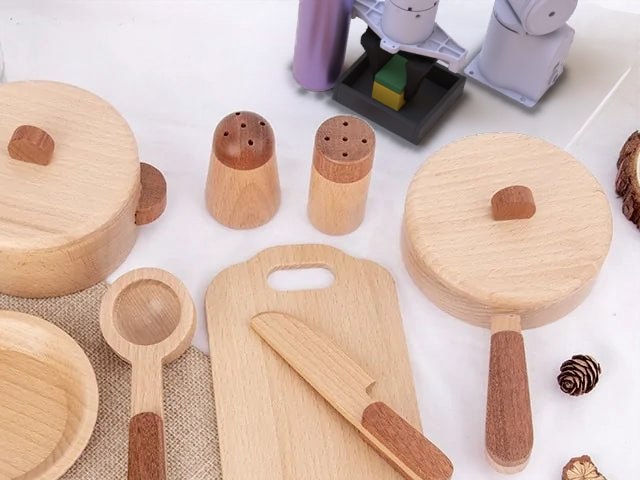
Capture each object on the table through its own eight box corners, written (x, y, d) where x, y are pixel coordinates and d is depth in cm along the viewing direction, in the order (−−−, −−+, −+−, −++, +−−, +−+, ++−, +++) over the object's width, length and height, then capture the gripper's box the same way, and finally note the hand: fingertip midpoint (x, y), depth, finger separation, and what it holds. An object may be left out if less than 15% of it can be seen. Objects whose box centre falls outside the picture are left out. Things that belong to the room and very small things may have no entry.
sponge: (417, 89, 127) (422, 67, 124) (397, 111, 126) (401, 89, 123) (391, 75, 128) (395, 53, 125) (371, 97, 127) (375, 75, 124)
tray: (461, 96, 128) (466, 77, 125) (415, 148, 124) (419, 129, 121) (379, 52, 131) (382, 33, 128) (331, 101, 127) (333, 82, 124)
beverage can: (336, 99, 127) (352, -4, 114) (287, 89, 128) (297, -14, 115) (345, 63, 130) (362, -41, 117) (297, 54, 131) (308, -51, 117)
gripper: (335, -16, 115) (324, 79, 127) (452, 44, 111) (429, 137, 123) (372, -51, 118) (358, 45, 130) (487, 6, 114) (461, 100, 126)
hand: (395, 87), depth 126 cm, fingers closed on sponge, 3 cm apart
